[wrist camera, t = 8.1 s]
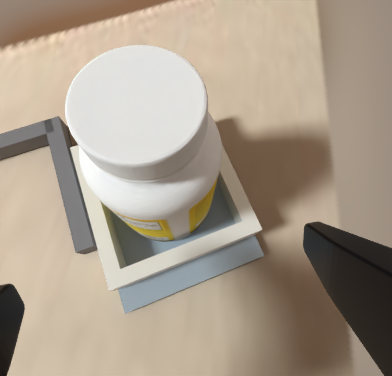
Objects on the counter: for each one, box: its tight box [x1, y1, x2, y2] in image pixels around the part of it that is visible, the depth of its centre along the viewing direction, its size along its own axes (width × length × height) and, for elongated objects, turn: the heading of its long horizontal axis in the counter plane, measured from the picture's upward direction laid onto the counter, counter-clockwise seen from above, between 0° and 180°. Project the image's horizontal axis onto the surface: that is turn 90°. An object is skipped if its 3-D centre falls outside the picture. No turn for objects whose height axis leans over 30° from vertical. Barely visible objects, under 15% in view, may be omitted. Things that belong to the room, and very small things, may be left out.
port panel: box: [70, 142, 264, 314], centre depth 16 cm, size 11×8×2 cm
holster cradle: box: [0, 116, 97, 254], centre depth 16 cm, size 9×9×1 cm
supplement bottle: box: [65, 45, 222, 242], centre depth 12 cm, size 5×5×10 cm
